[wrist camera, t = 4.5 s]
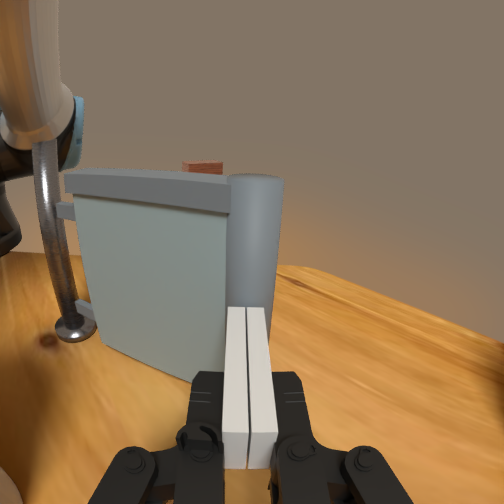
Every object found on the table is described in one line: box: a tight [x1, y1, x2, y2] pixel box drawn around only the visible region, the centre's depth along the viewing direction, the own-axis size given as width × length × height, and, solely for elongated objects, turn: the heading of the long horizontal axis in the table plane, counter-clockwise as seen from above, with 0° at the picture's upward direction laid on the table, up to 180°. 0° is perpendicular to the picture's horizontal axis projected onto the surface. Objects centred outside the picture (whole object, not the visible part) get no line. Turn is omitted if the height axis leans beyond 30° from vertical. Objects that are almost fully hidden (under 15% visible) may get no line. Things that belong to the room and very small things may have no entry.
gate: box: [56, 168, 284, 383], centre depth 17 cm, size 16×2×14 cm, turn 70°
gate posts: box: [32, 139, 223, 343], centre depth 24 cm, size 18×7×16 cm, turn 117°
